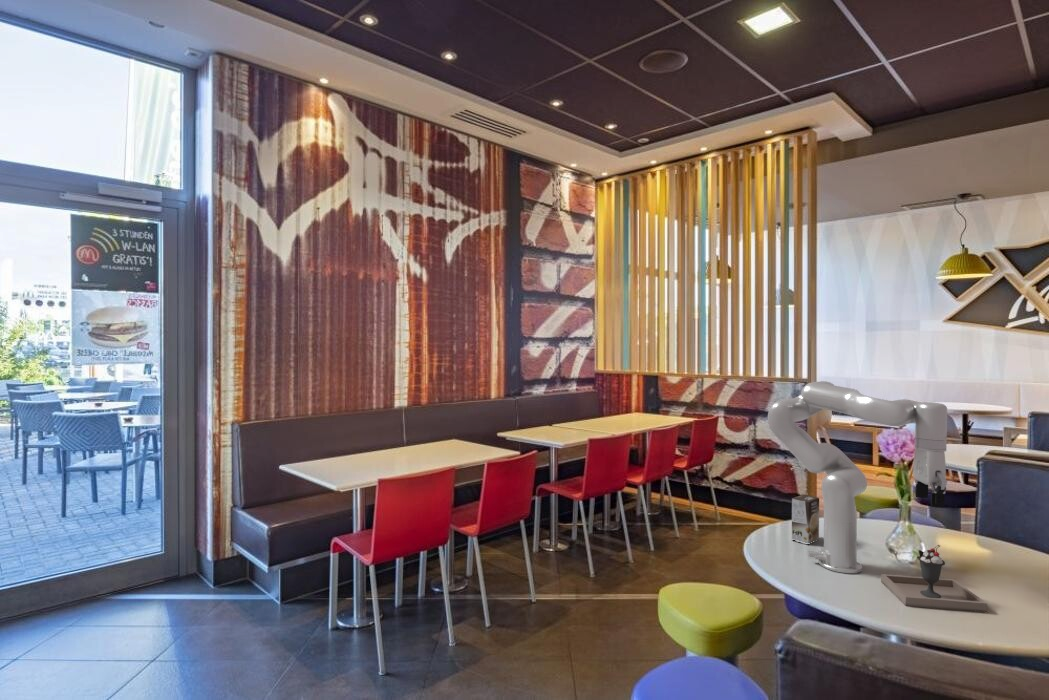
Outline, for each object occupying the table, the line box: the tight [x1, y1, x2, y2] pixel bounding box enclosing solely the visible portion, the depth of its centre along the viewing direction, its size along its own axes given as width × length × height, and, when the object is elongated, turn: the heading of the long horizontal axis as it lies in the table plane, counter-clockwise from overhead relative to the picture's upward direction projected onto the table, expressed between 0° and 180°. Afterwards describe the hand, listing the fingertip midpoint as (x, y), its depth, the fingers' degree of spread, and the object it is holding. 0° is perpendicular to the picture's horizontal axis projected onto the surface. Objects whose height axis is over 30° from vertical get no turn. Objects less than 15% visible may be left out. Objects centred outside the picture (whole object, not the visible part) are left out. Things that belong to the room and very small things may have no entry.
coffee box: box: [791, 494, 820, 544], centre depth 208 cm, size 9×6×16 cm
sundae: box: [916, 544, 946, 598], centre depth 162 cm, size 7×7×15 cm
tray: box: [880, 573, 988, 613], centre depth 162 cm, size 20×16×2 cm
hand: (929, 502), depth 165 cm, fingers open, 9 cm apart
